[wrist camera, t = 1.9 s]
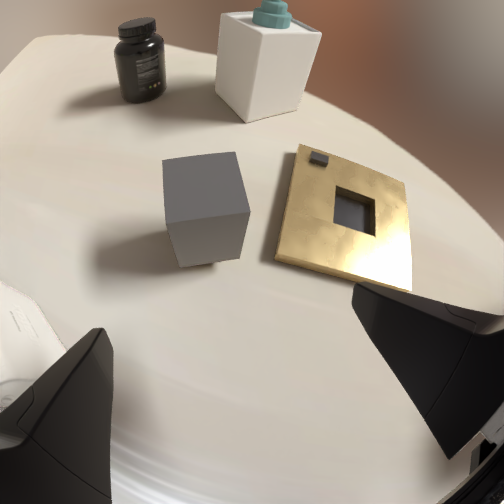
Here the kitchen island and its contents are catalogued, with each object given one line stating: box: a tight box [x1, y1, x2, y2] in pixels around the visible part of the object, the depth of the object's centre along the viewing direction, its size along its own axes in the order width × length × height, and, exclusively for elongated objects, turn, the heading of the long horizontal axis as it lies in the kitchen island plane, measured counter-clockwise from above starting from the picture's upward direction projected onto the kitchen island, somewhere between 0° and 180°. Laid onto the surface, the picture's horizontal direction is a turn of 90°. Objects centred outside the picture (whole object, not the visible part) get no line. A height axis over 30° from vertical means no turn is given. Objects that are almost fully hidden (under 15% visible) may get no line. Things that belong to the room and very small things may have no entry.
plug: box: [162, 152, 251, 268], centre depth 20 cm, size 5×5×9 cm
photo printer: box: [0, 281, 67, 407], centre depth 12 cm, size 10×4×12 cm, turn 48°
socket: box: [274, 144, 411, 292], centre depth 26 cm, size 14×14×2 cm
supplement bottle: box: [114, 17, 166, 103], centre depth 27 cm, size 7×7×12 cm
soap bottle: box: [215, 0, 322, 123], centre depth 25 cm, size 9×9×19 cm
